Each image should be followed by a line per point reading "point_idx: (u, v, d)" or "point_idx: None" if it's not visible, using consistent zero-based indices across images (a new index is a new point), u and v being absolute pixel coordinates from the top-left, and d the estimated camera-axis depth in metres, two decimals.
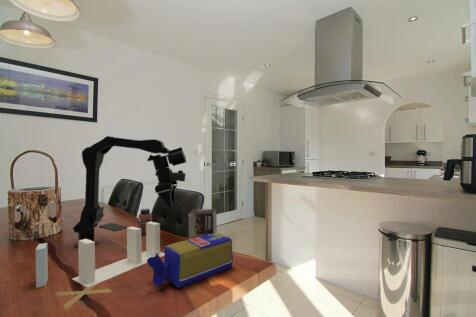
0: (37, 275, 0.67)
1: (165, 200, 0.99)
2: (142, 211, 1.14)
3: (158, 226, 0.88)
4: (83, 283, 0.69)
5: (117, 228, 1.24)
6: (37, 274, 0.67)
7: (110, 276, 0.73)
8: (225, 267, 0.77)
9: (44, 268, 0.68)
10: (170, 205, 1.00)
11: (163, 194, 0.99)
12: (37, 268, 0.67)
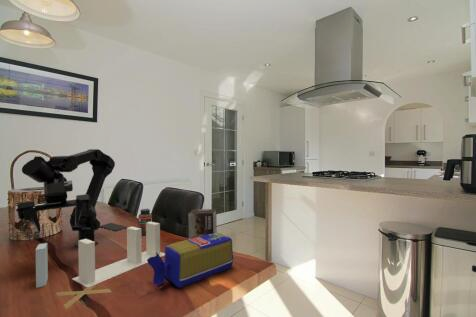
0: (37, 275, 0.67)
1: (34, 225, 0.75)
2: (142, 211, 1.14)
3: (158, 226, 0.88)
4: (83, 283, 0.69)
5: (117, 228, 1.24)
6: (37, 274, 0.67)
7: (110, 276, 0.73)
8: (225, 267, 0.77)
9: (44, 268, 0.68)
10: (38, 230, 0.73)
11: (32, 218, 0.76)
12: (37, 268, 0.67)
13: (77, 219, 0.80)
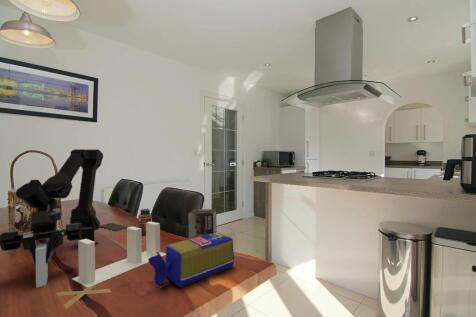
0: (37, 275, 0.67)
1: None
2: (142, 211, 1.14)
3: (158, 226, 0.88)
4: (83, 283, 0.69)
5: (117, 228, 1.24)
6: (37, 274, 0.67)
7: (110, 276, 0.73)
8: (226, 266, 0.77)
9: (44, 268, 0.68)
10: (34, 262, 0.68)
11: None
12: (37, 268, 0.67)
13: (48, 255, 0.69)
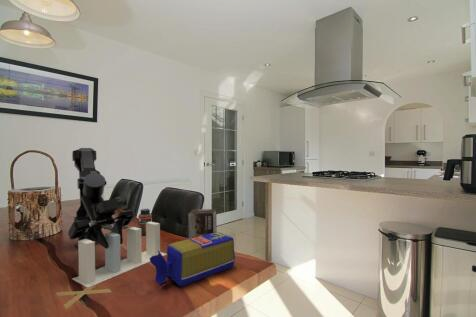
0: (115, 259, 0.75)
1: (98, 242, 0.75)
2: (142, 211, 1.14)
3: (158, 226, 0.88)
4: (83, 283, 0.69)
5: None
6: (115, 258, 0.75)
7: (110, 276, 0.73)
8: (227, 266, 0.78)
9: (119, 252, 0.76)
10: (106, 246, 0.74)
11: (94, 235, 0.76)
12: (115, 253, 0.75)
13: (121, 237, 0.79)
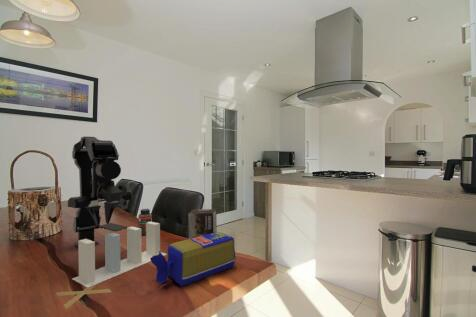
0: (115, 259, 0.75)
1: (92, 216, 0.82)
2: (142, 211, 1.14)
3: (158, 226, 0.88)
4: (83, 283, 0.69)
5: (117, 228, 1.24)
6: (115, 258, 0.75)
7: (110, 276, 0.73)
8: (227, 266, 0.78)
9: (119, 252, 0.76)
10: (97, 224, 0.82)
11: (91, 208, 0.81)
12: (115, 253, 0.75)
13: (109, 218, 0.85)
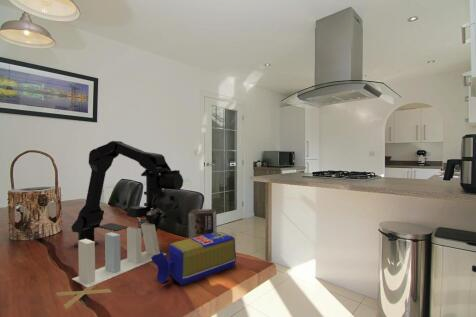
0: (115, 259, 0.75)
1: (150, 223, 0.90)
2: None
3: (153, 227, 0.87)
4: (83, 283, 0.69)
5: (117, 228, 1.24)
6: (115, 258, 0.75)
7: (110, 276, 0.73)
8: (228, 265, 0.78)
9: (119, 252, 0.76)
10: None
11: (149, 216, 0.89)
12: (115, 253, 0.75)
13: (157, 227, 0.90)
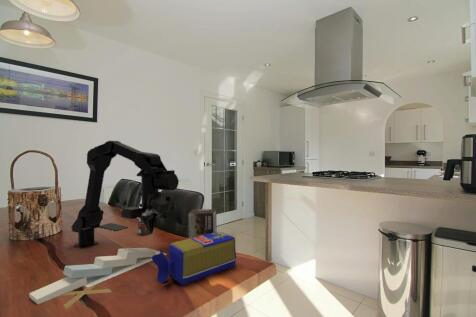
0: (97, 274, 0.71)
1: (145, 224, 0.88)
2: None
3: (129, 253, 0.79)
4: None
5: (117, 228, 1.24)
6: (97, 274, 0.70)
7: (110, 276, 0.73)
8: (228, 265, 0.78)
9: (94, 269, 0.70)
10: (149, 231, 0.88)
11: (144, 217, 0.88)
12: (91, 275, 0.69)
13: (153, 228, 0.89)
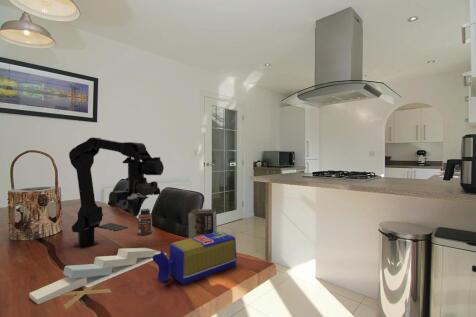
0: (97, 274, 0.71)
1: (131, 207, 0.96)
2: (142, 211, 1.14)
3: (129, 253, 0.79)
4: None
5: (117, 228, 1.24)
6: (97, 274, 0.70)
7: (110, 276, 0.73)
8: (229, 265, 0.78)
9: (94, 269, 0.70)
10: (135, 214, 0.96)
11: (130, 201, 0.95)
12: (91, 275, 0.69)
13: (139, 211, 0.96)
